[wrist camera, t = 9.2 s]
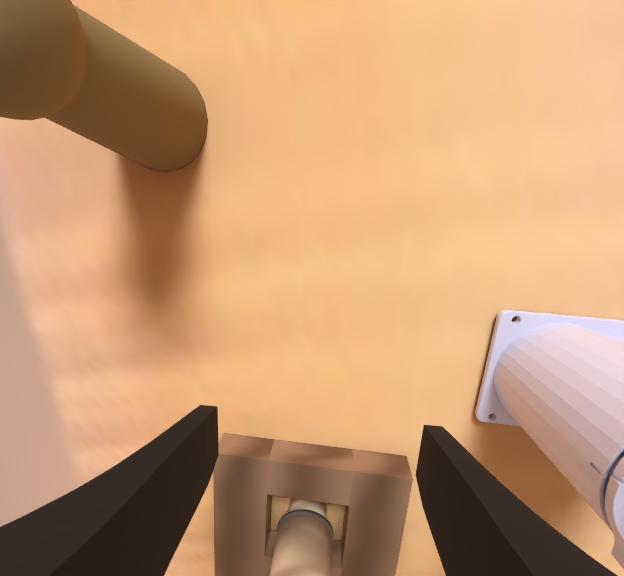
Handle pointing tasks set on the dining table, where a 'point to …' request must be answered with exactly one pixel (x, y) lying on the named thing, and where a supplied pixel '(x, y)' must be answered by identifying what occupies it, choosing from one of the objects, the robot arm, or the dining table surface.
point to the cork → (97, 84)
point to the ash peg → (303, 541)
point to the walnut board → (308, 486)
